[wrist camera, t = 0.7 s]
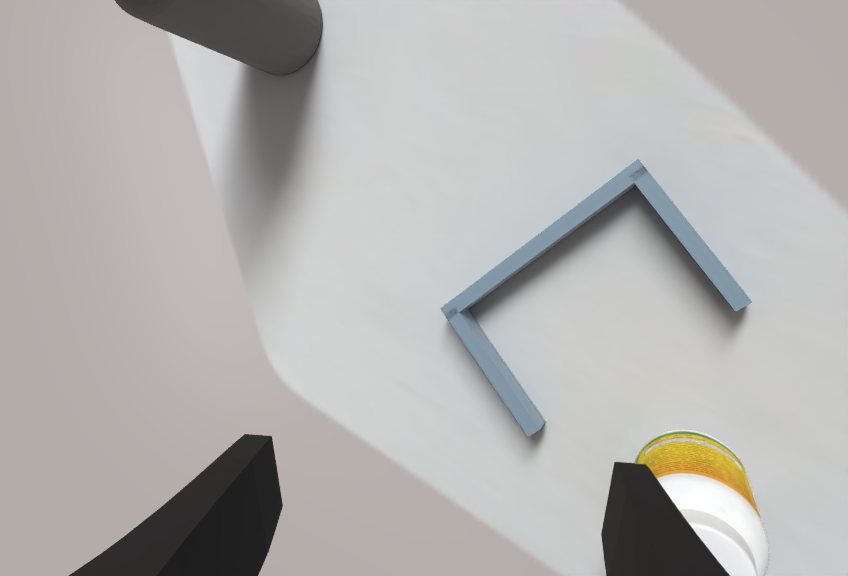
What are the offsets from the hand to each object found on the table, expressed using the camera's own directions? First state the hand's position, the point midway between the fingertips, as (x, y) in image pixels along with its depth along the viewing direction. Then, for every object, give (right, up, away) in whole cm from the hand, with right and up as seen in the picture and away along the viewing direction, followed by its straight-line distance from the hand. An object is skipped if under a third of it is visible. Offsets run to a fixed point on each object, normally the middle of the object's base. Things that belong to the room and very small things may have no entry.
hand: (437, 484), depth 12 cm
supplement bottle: (+13, -6, +17) cm, 22 cm away
